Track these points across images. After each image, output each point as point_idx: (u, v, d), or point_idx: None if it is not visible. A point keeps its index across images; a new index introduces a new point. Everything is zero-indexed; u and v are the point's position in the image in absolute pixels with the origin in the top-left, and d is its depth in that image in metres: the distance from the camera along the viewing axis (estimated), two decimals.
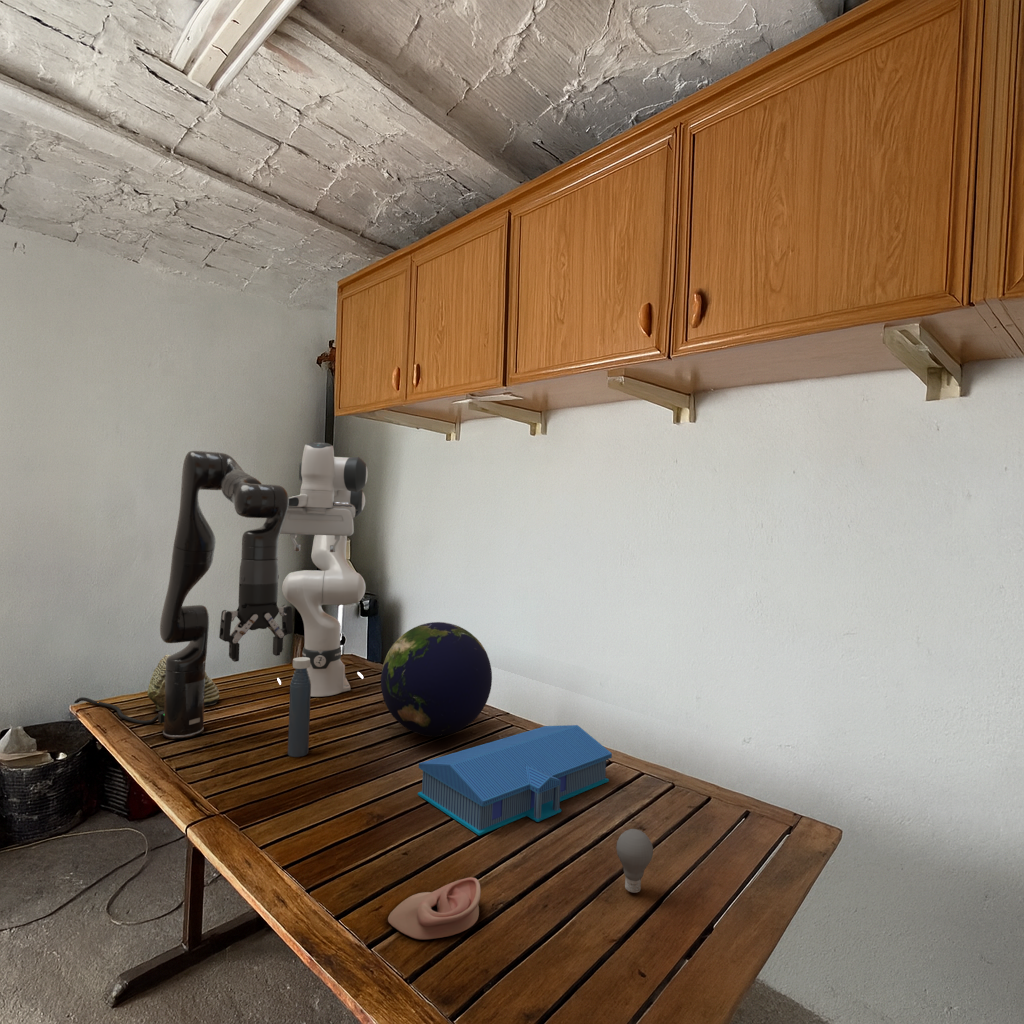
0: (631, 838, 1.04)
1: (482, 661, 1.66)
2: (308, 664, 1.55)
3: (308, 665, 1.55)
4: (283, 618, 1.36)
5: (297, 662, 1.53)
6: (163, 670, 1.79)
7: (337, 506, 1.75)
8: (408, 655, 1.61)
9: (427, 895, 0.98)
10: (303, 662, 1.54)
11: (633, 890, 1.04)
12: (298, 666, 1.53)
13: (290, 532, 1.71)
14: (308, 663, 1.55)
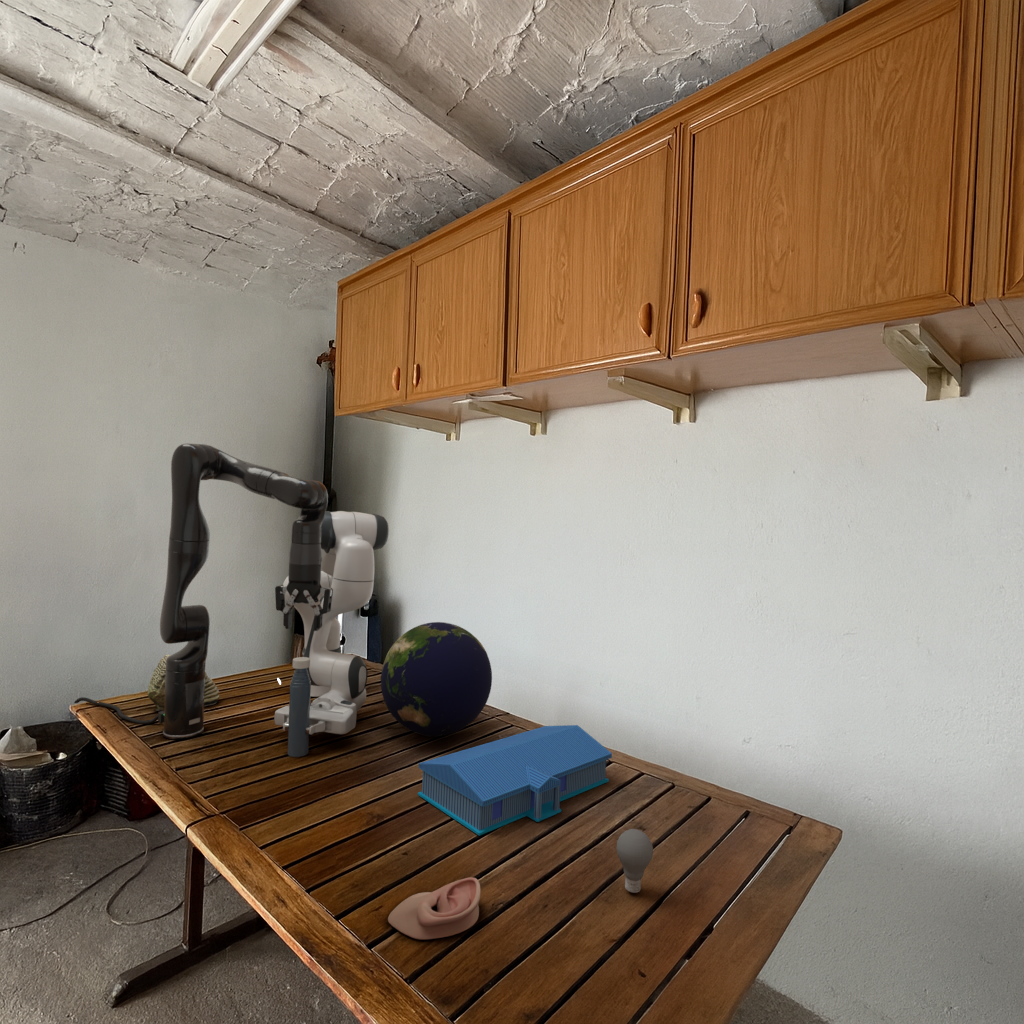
0: (631, 838, 1.04)
1: (482, 661, 1.66)
2: (308, 664, 1.55)
3: (308, 665, 1.55)
4: (281, 597, 1.55)
5: (297, 662, 1.53)
6: (163, 670, 1.79)
7: None
8: (408, 655, 1.61)
9: (427, 895, 0.98)
10: (303, 662, 1.54)
11: (633, 890, 1.04)
12: (298, 666, 1.53)
13: (331, 732, 1.58)
14: (308, 663, 1.55)
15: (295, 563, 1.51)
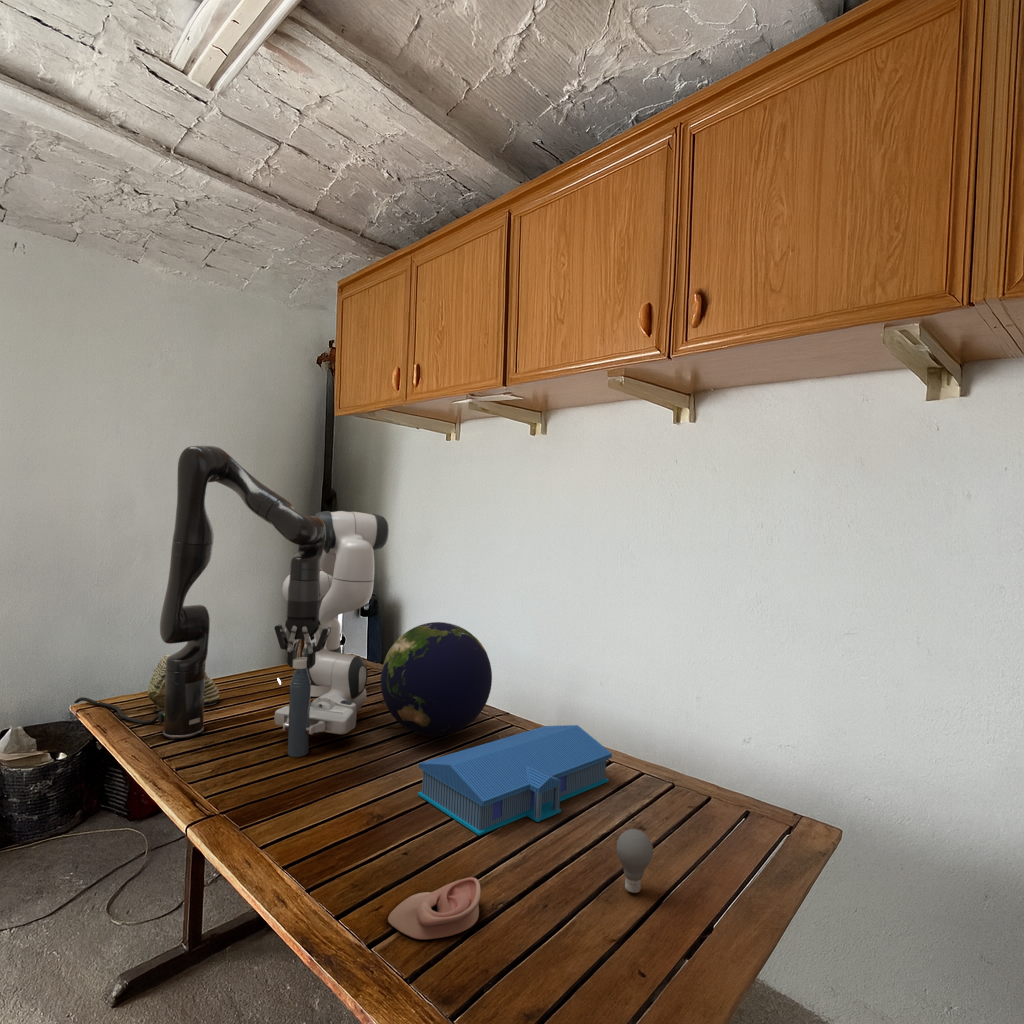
0: (631, 838, 1.04)
1: (482, 661, 1.66)
2: None
3: None
4: (283, 635, 1.55)
5: (297, 662, 1.53)
6: (163, 670, 1.79)
7: None
8: (408, 655, 1.61)
9: (427, 895, 0.98)
10: (303, 662, 1.54)
11: (633, 890, 1.04)
12: (298, 666, 1.53)
13: (331, 732, 1.58)
14: None
15: (294, 600, 1.51)
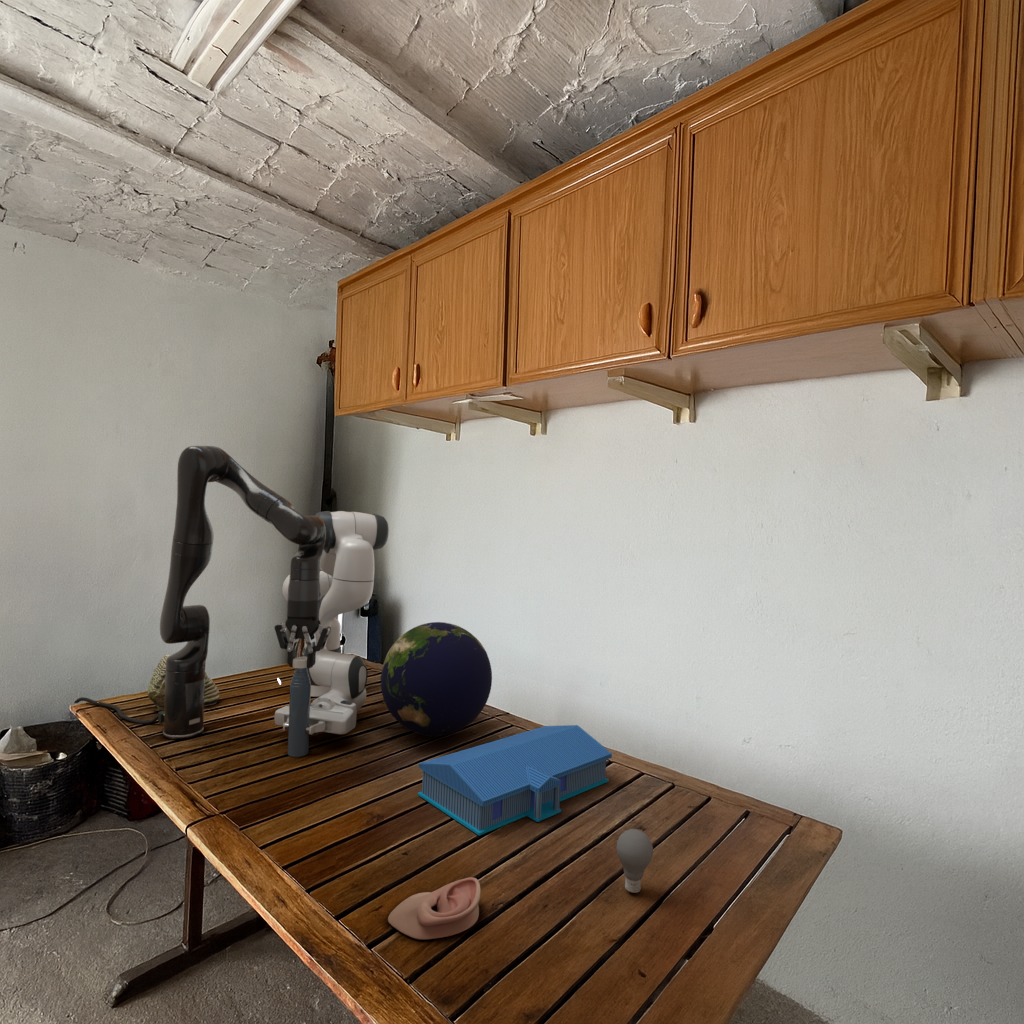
0: (631, 838, 1.04)
1: (482, 661, 1.66)
2: None
3: None
4: (283, 634, 1.55)
5: None
6: (163, 670, 1.79)
7: None
8: (408, 655, 1.61)
9: (427, 895, 0.98)
10: None
11: (633, 890, 1.04)
12: None
13: (331, 732, 1.58)
14: None
15: (294, 599, 1.51)
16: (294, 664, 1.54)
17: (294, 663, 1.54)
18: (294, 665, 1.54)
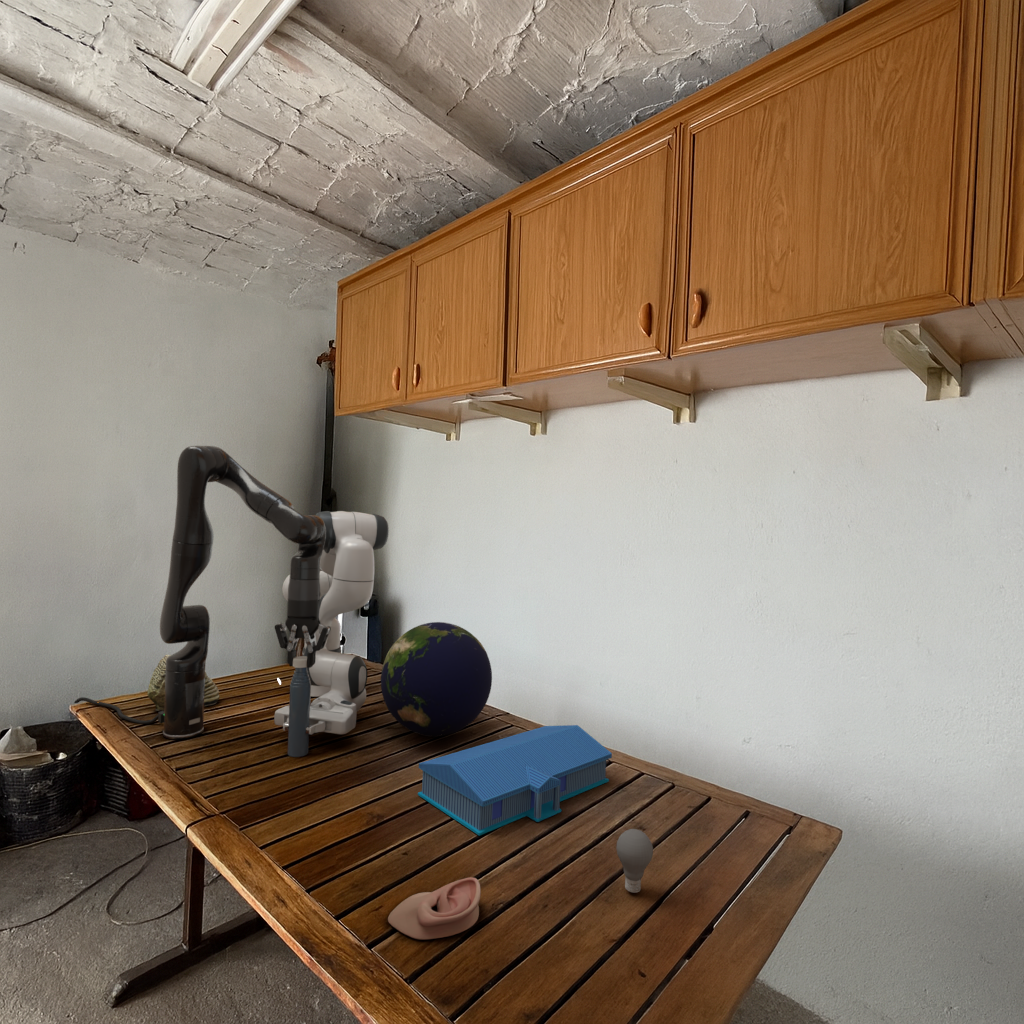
0: (631, 838, 1.04)
1: (482, 661, 1.66)
2: None
3: None
4: (283, 634, 1.55)
5: None
6: (163, 670, 1.79)
7: None
8: (408, 655, 1.61)
9: (427, 895, 0.98)
10: None
11: (633, 890, 1.04)
12: None
13: (331, 732, 1.58)
14: None
15: (294, 599, 1.51)
16: None
17: None
18: (306, 665, 1.54)
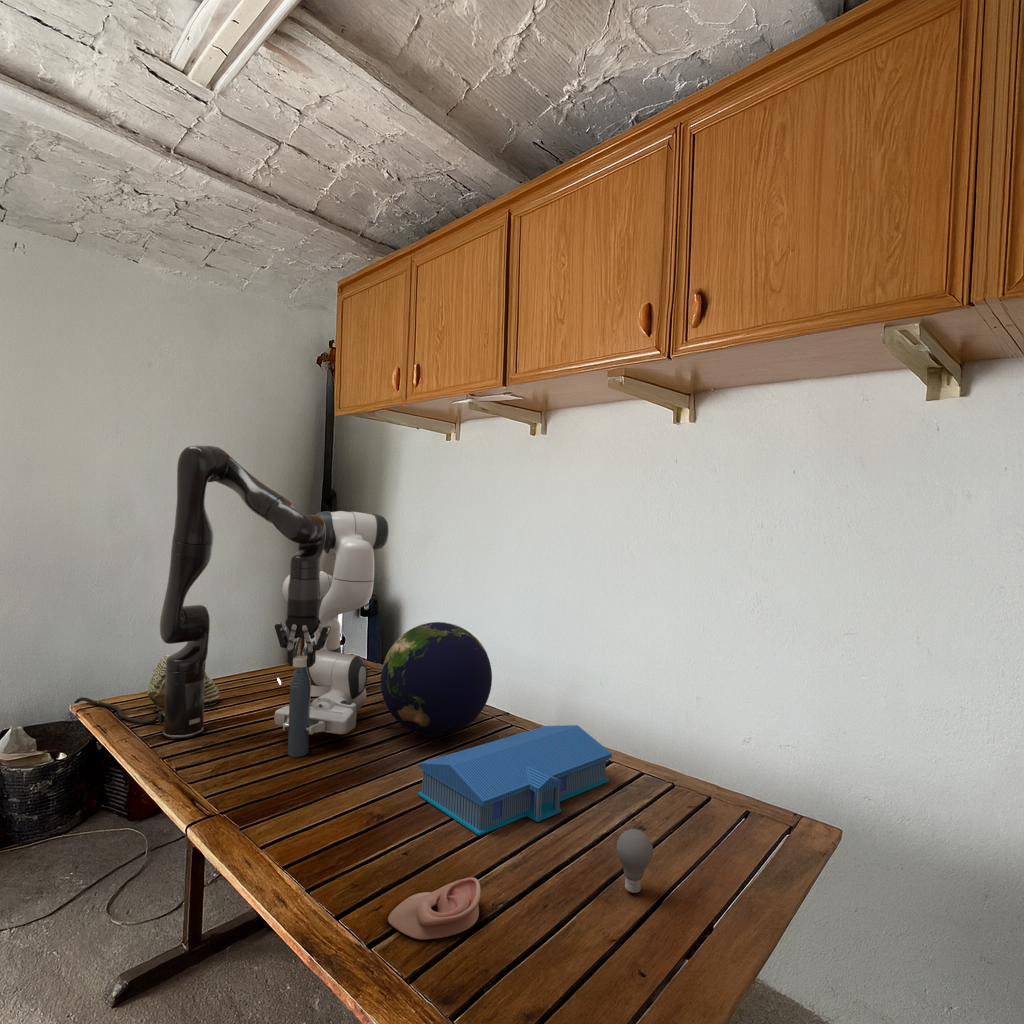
0: (631, 838, 1.04)
1: (482, 661, 1.66)
2: (299, 664, 1.53)
3: (299, 665, 1.53)
4: (283, 633, 1.55)
5: None
6: (163, 670, 1.79)
7: None
8: (408, 655, 1.61)
9: (427, 895, 0.98)
10: (294, 660, 1.54)
11: (633, 890, 1.04)
12: None
13: (331, 732, 1.58)
14: (299, 663, 1.53)
15: (294, 598, 1.51)
16: None
17: None
18: None
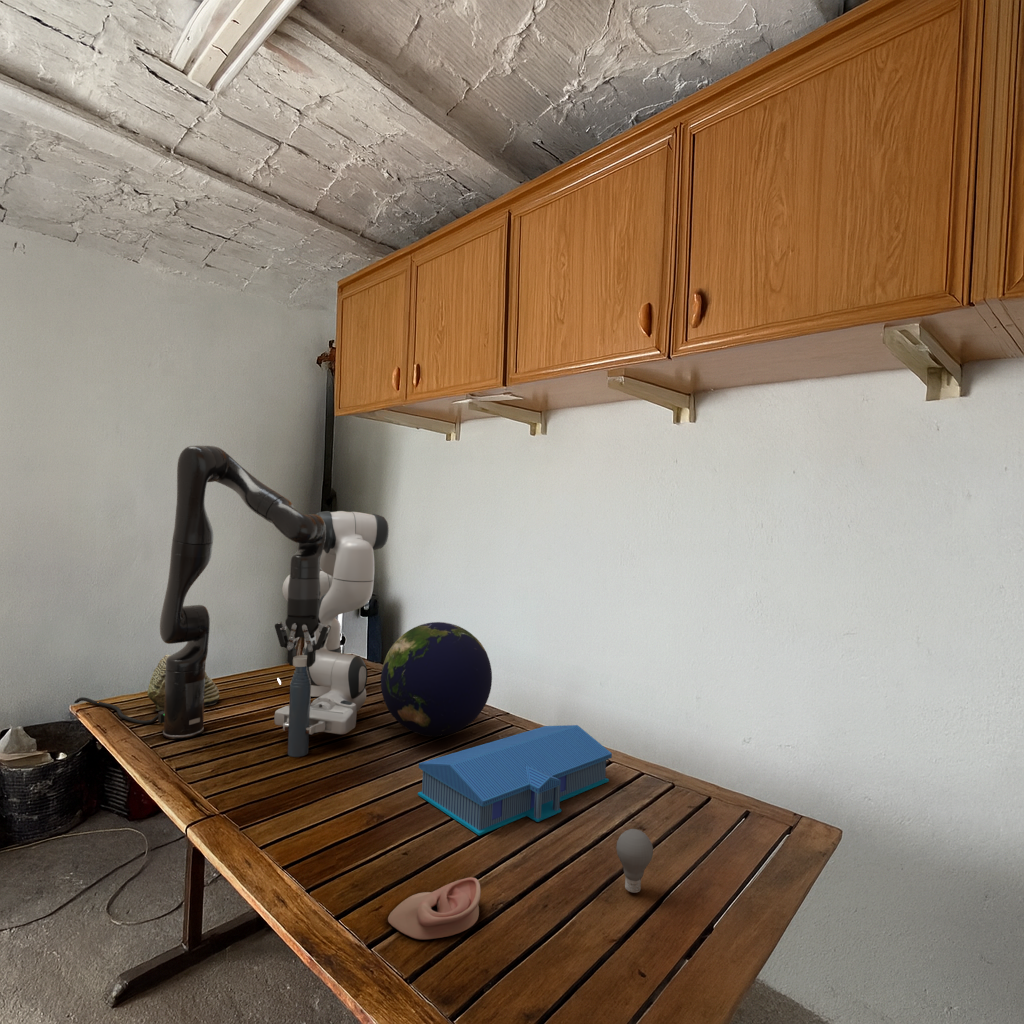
0: (631, 838, 1.04)
1: (482, 661, 1.66)
2: None
3: None
4: (283, 633, 1.55)
5: (300, 660, 1.53)
6: (163, 670, 1.79)
7: None
8: (408, 655, 1.61)
9: (427, 895, 0.98)
10: (306, 660, 1.54)
11: (633, 890, 1.04)
12: (301, 664, 1.53)
13: (331, 732, 1.58)
14: None
15: (293, 598, 1.51)
16: None
17: None
18: None
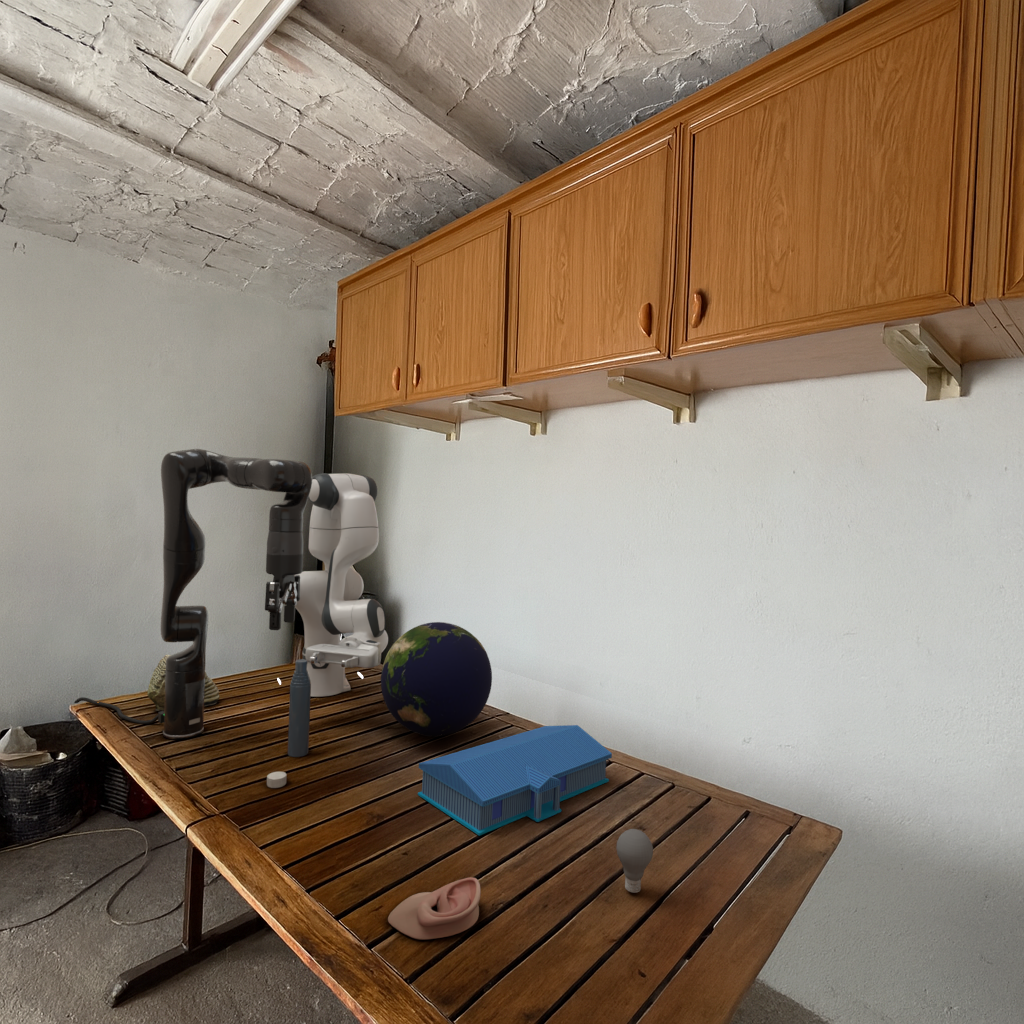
0: (631, 838, 1.04)
1: (482, 661, 1.66)
2: None
3: None
4: None
5: (286, 776, 1.39)
6: (163, 670, 1.79)
7: None
8: (408, 655, 1.61)
9: (427, 895, 0.98)
10: None
11: (633, 890, 1.04)
12: None
13: (358, 666, 1.71)
14: None
15: (300, 553, 1.37)
16: (271, 784, 1.37)
17: (271, 783, 1.37)
18: (271, 785, 1.37)
